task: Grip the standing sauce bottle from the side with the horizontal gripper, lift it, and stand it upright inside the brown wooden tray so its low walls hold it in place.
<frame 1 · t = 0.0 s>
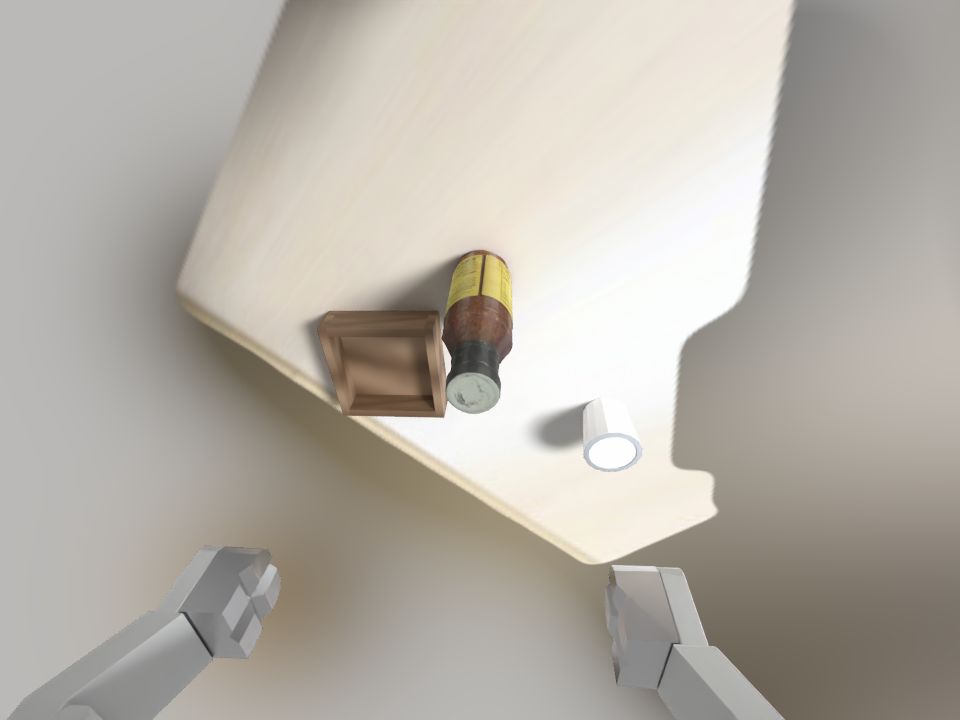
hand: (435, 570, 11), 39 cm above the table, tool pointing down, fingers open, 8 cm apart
white cup: (604, 412, 59), on the table
brown wooden tray: (392, 356, 56), on the table
sauce bottle: (484, 273, 49), on the table
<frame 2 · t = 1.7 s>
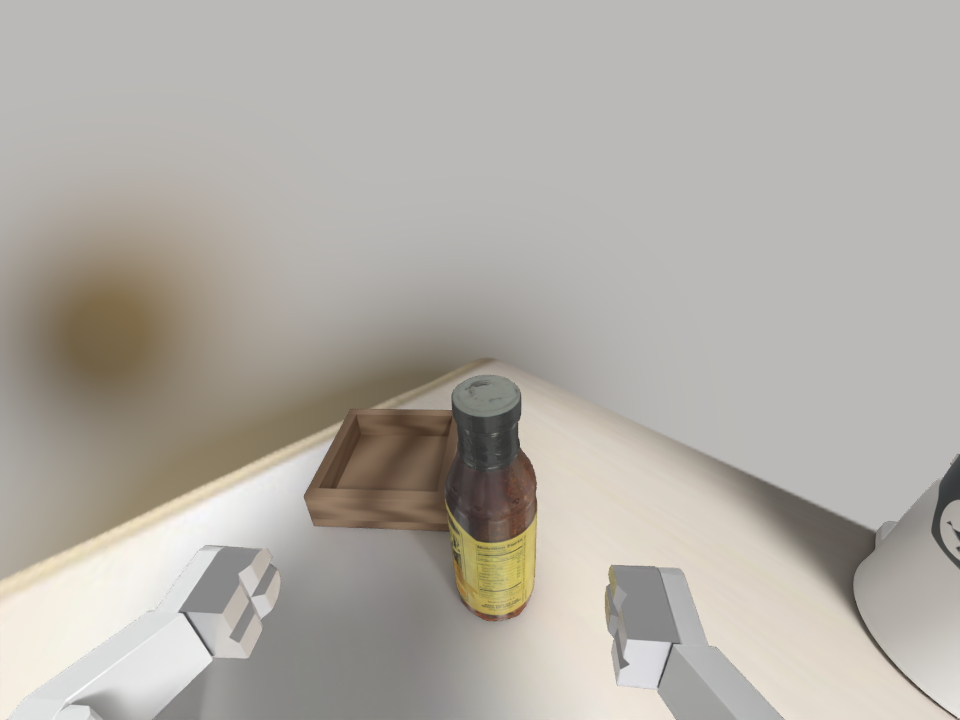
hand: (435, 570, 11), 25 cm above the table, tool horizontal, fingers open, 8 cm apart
brown wooden tray: (397, 477, 47), on the table
sauce bottle: (495, 591, 36), on the table
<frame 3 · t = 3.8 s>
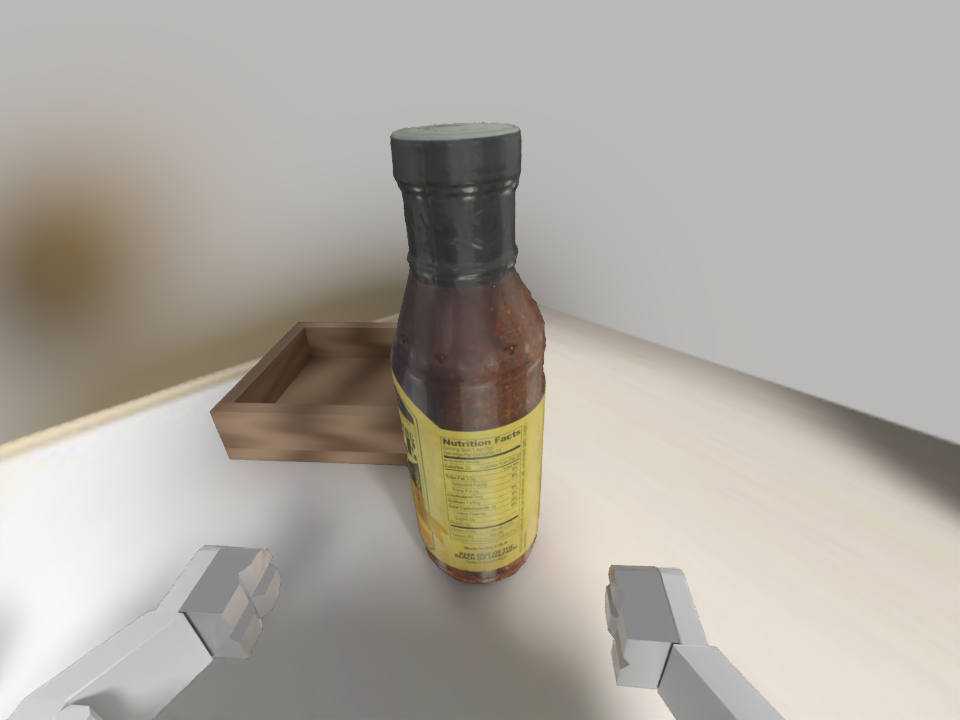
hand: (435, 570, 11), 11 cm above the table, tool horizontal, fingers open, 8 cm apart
brown wooden tray: (353, 404, 35), on the table
sauce bottle: (479, 543, 24), on the table
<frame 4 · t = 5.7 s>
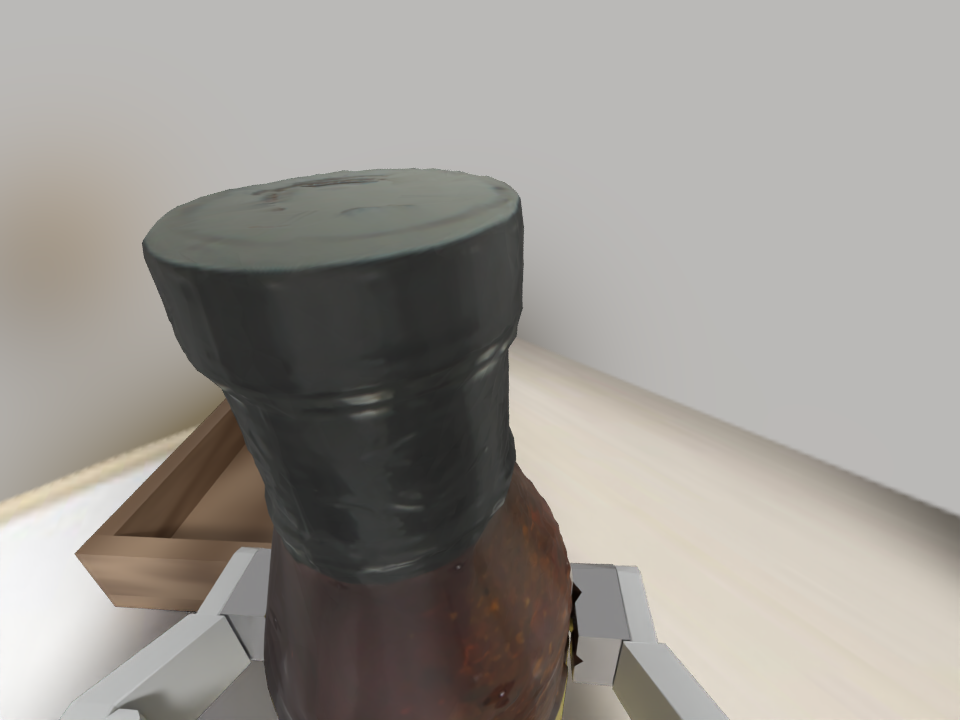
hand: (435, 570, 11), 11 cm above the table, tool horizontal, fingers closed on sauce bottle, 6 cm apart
brown wooden tray: (300, 506, 27), on the table
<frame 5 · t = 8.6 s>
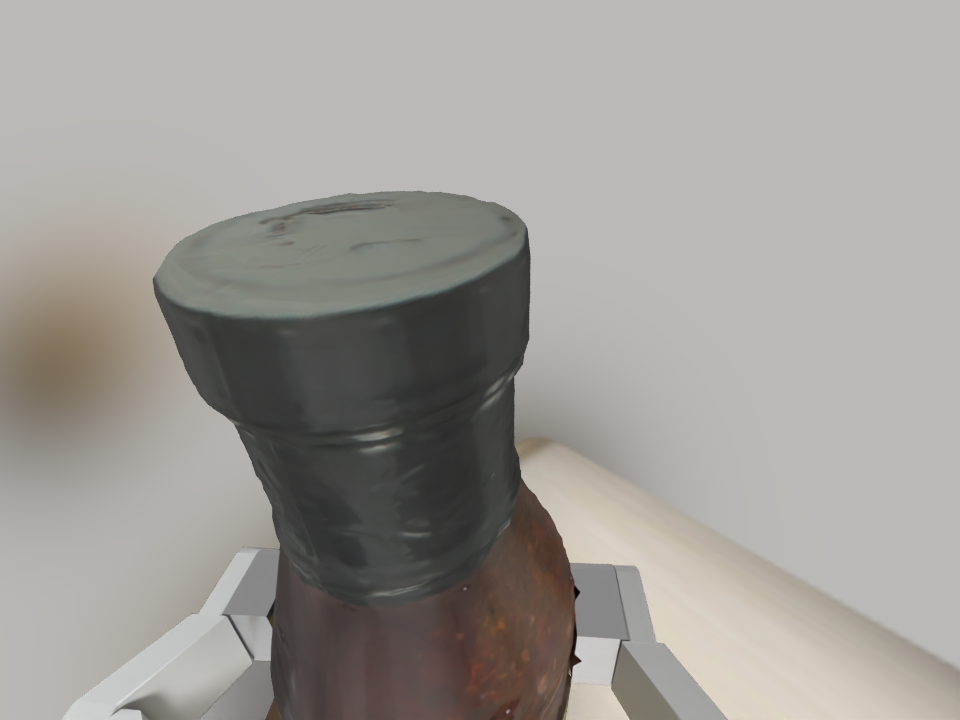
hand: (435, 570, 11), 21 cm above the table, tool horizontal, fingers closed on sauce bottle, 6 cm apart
when the fingers open (13 cm above the table, at t = 11.5 s): sauce bottle stays where it is, resting on brown wooden tray.
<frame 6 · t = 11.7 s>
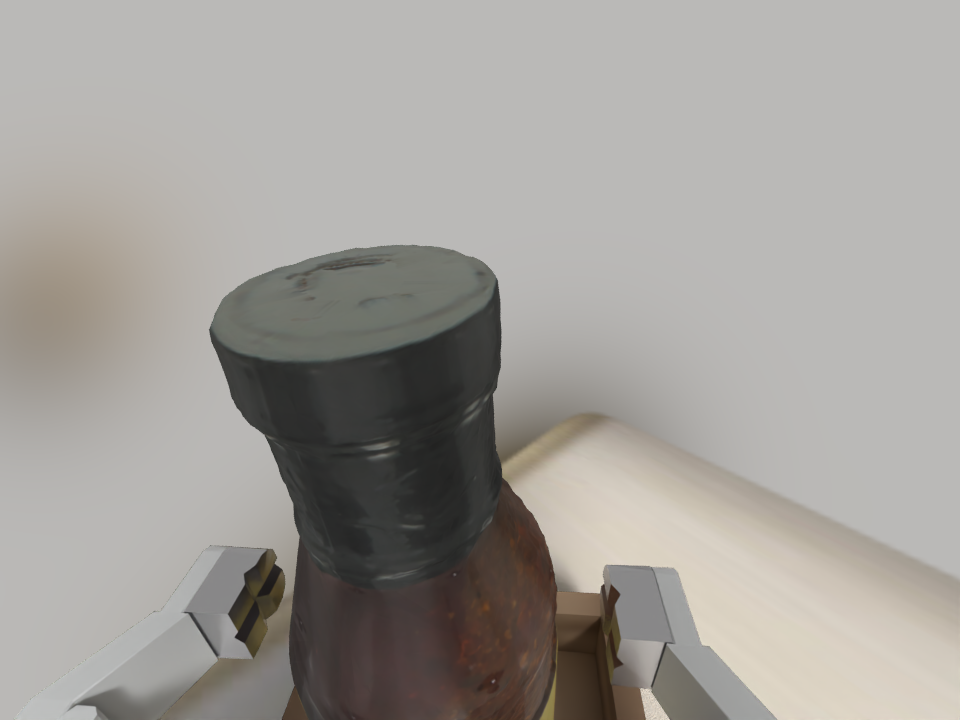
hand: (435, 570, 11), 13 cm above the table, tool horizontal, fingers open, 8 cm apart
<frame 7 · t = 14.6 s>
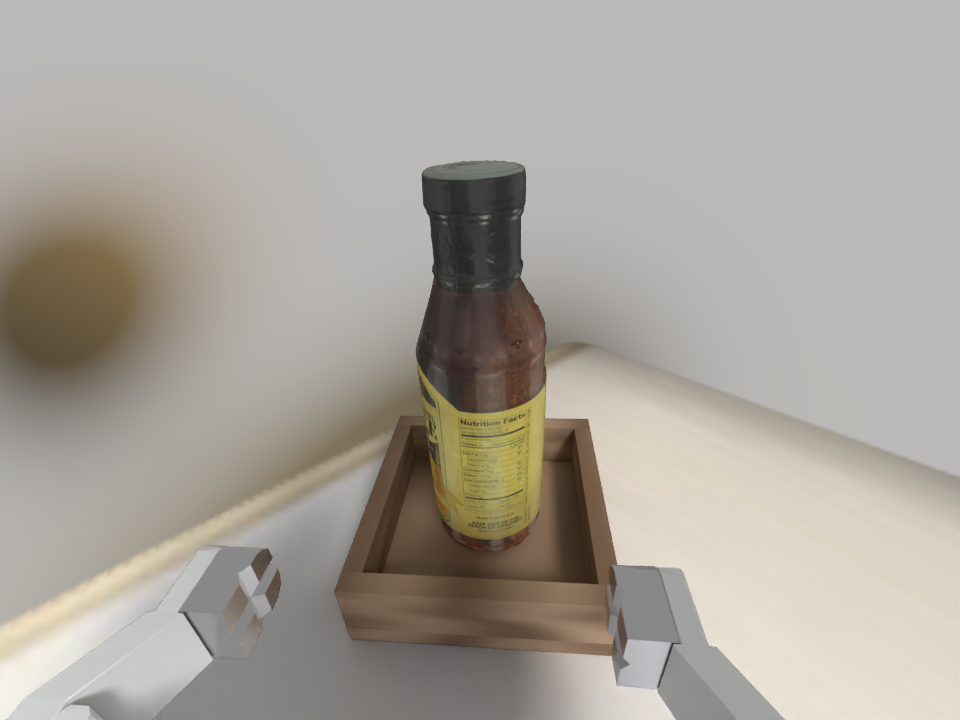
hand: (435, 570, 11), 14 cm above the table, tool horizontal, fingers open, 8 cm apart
brown wooden tray: (488, 534, 27), on the table
sauce bottle: (489, 519, 27), point 1 cm above the table, touching brown wooden tray
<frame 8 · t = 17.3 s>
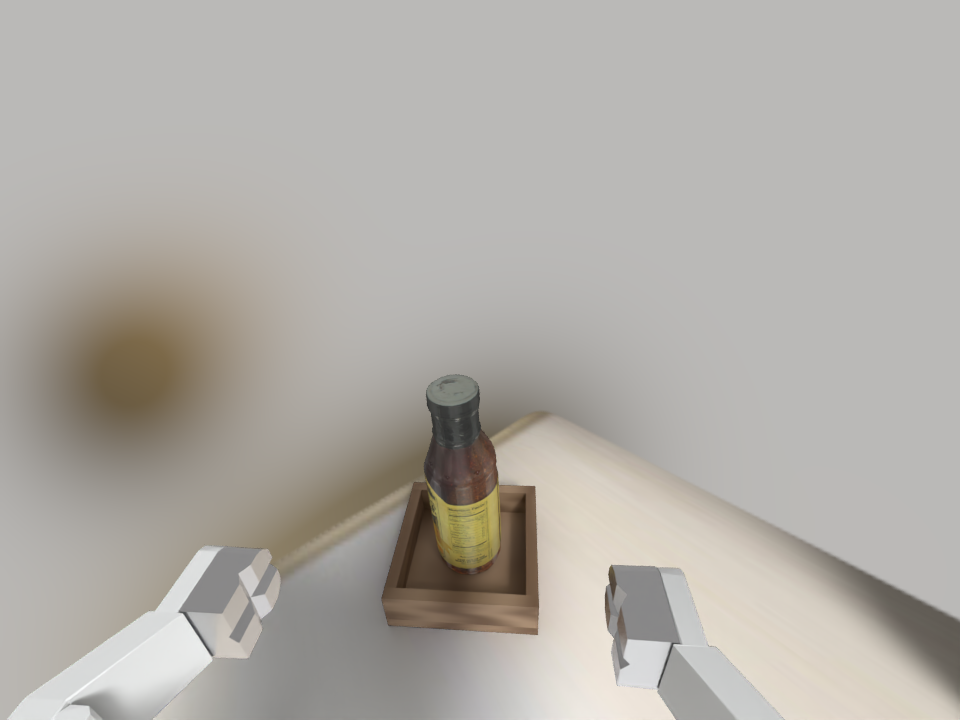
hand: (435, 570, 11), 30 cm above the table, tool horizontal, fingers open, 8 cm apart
brown wooden tray: (469, 562, 44), on the table
sauce bottle: (470, 553, 44), point 1 cm above the table, touching brown wooden tray
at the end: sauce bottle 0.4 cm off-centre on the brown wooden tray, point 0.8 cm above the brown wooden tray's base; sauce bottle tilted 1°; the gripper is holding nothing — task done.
